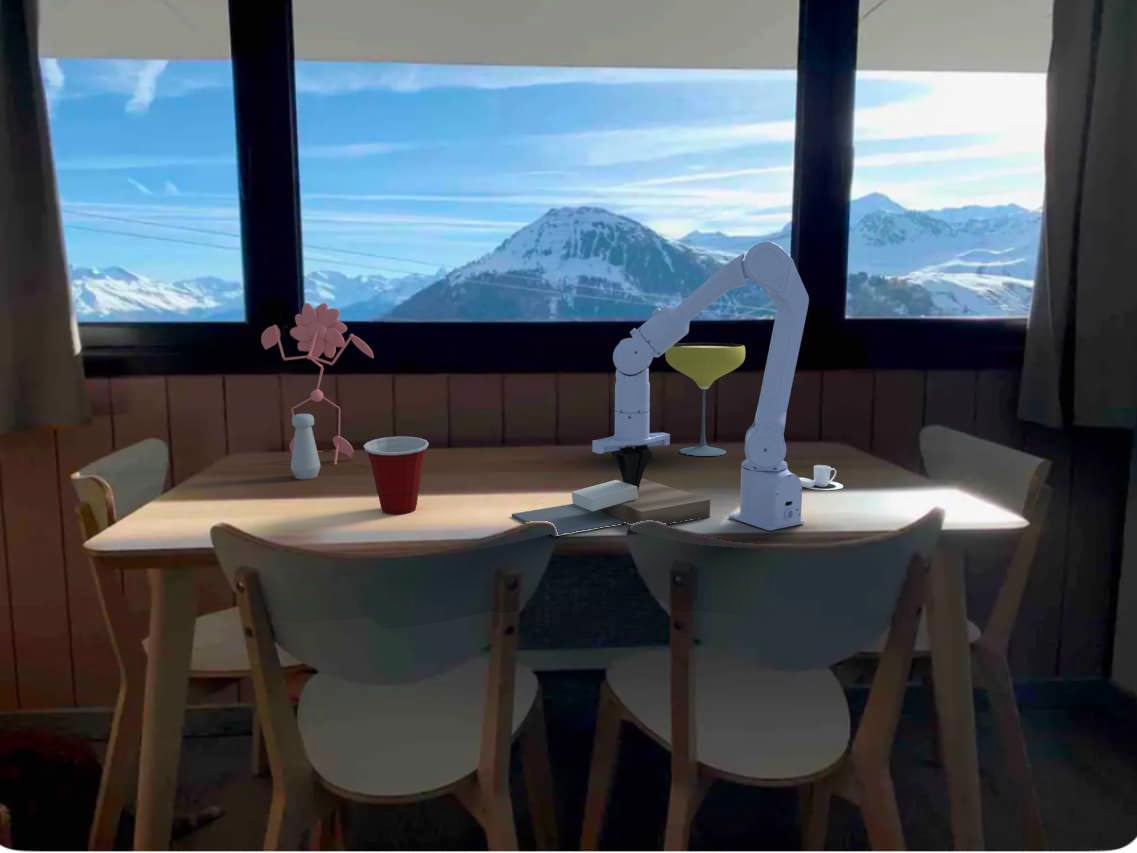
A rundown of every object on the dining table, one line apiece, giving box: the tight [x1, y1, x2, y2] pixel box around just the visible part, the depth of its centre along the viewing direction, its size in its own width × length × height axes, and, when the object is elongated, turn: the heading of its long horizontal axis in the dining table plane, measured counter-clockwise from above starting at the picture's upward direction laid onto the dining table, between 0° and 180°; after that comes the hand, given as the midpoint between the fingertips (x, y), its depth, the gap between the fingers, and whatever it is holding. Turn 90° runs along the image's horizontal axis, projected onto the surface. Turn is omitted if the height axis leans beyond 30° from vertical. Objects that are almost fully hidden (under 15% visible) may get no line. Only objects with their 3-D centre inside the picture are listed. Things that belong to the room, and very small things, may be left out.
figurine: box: [260, 302, 375, 466], centre depth 180 cm, size 15×26×35 cm, turn 84°
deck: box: [580, 478, 711, 524], centre depth 137 cm, size 18×14×3 cm
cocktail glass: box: [664, 342, 746, 457], centre depth 186 cm, size 18×18×25 cm
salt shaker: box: [290, 413, 321, 481], centre depth 163 cm, size 6×6×13 cm
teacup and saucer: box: [799, 464, 844, 491], centre depth 155 cm, size 9×8×4 cm
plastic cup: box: [363, 436, 430, 515], centre depth 137 cm, size 11×11×12 cm
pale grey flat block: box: [571, 479, 638, 511], centre depth 132 cm, size 9×6×2 cm, turn 122°
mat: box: [511, 503, 625, 535], centre depth 132 cm, size 14×13×1 cm
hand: (631, 491), depth 135 cm, fingers closed
